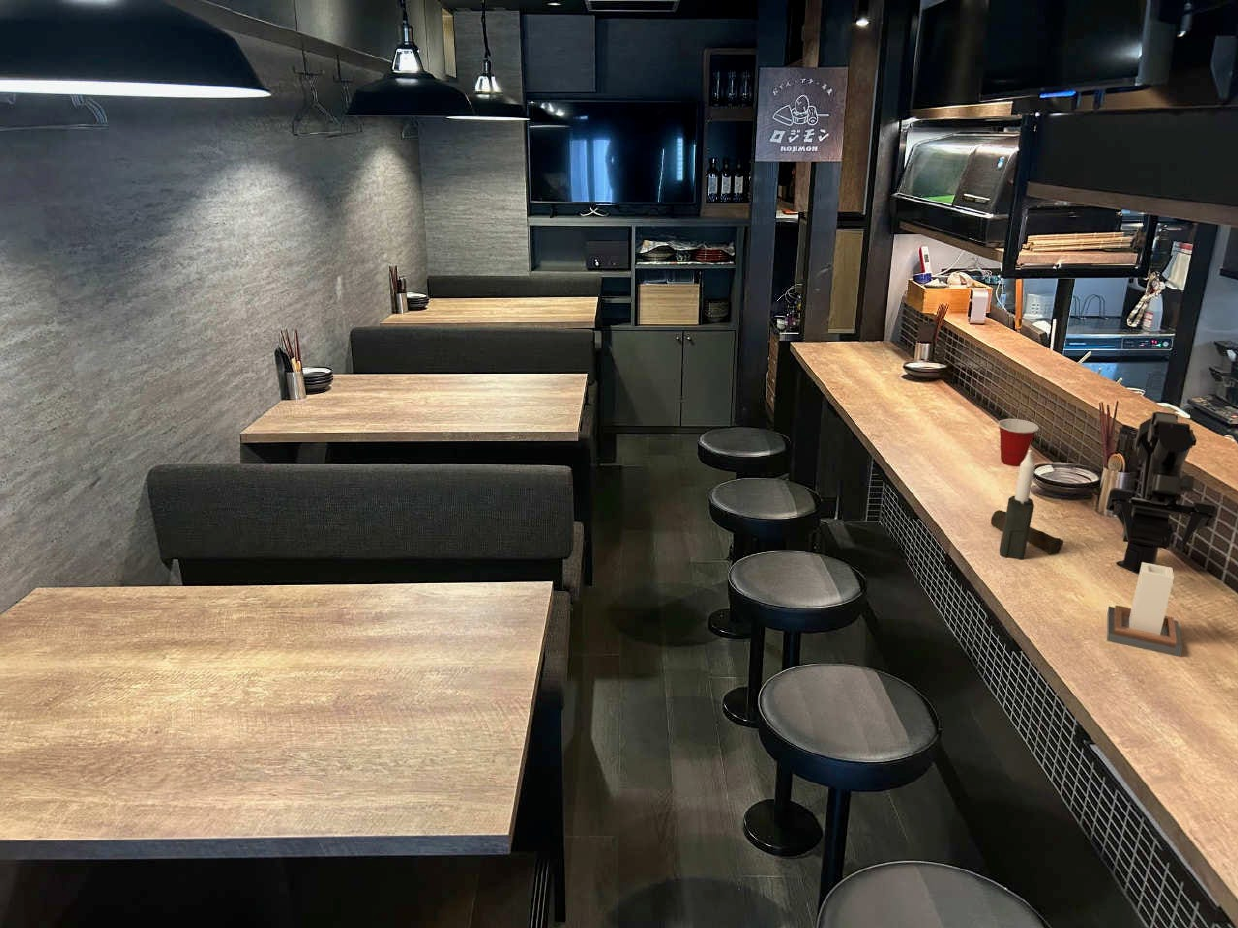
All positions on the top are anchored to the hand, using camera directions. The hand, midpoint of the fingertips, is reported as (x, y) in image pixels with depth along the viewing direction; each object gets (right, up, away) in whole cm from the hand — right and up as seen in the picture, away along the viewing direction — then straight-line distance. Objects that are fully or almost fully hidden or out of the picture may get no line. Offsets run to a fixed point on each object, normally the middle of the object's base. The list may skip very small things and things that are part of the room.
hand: (1154, 545), depth 182 cm
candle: (-17, -5, +27) cm, 32 cm away
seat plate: (-6, -16, -6) cm, 18 cm away
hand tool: (-11, -2, +36) cm, 37 cm away
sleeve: (-6, -15, -7) cm, 17 cm away
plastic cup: (+9, +16, +88) cm, 90 cm away
